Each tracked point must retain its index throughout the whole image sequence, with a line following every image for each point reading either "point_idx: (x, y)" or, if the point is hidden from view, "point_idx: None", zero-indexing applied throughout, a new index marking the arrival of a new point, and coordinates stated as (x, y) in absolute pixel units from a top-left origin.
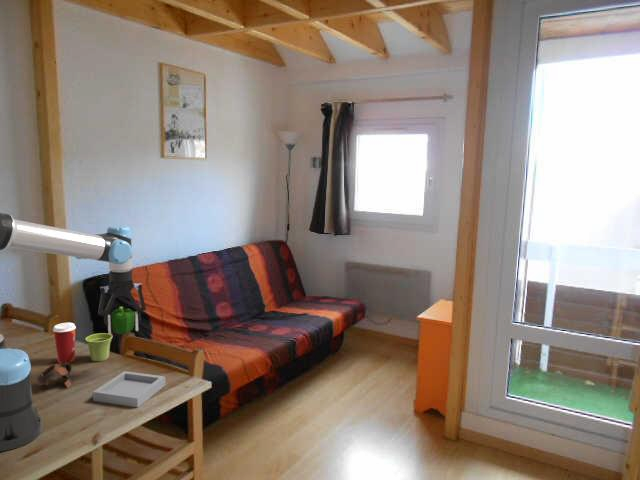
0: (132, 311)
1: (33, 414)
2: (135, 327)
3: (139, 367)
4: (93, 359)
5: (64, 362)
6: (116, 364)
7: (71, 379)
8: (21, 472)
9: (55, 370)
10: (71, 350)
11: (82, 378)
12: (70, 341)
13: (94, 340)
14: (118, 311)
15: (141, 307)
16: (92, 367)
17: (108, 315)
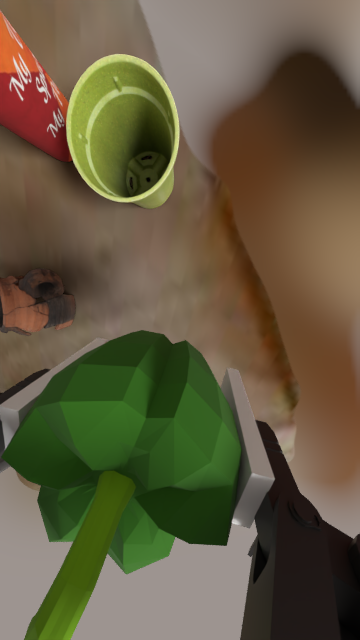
0: (207, 543)
1: (4, 467)
2: (224, 389)
3: (220, 313)
4: (127, 194)
5: (56, 158)
6: (178, 258)
7: (68, 311)
8: (31, 487)
9: (11, 327)
10: (48, 137)
11: (96, 296)
12: (12, 112)
13: (117, 99)
14: (81, 457)
15: (342, 600)
16: (122, 241)
17: (8, 433)
